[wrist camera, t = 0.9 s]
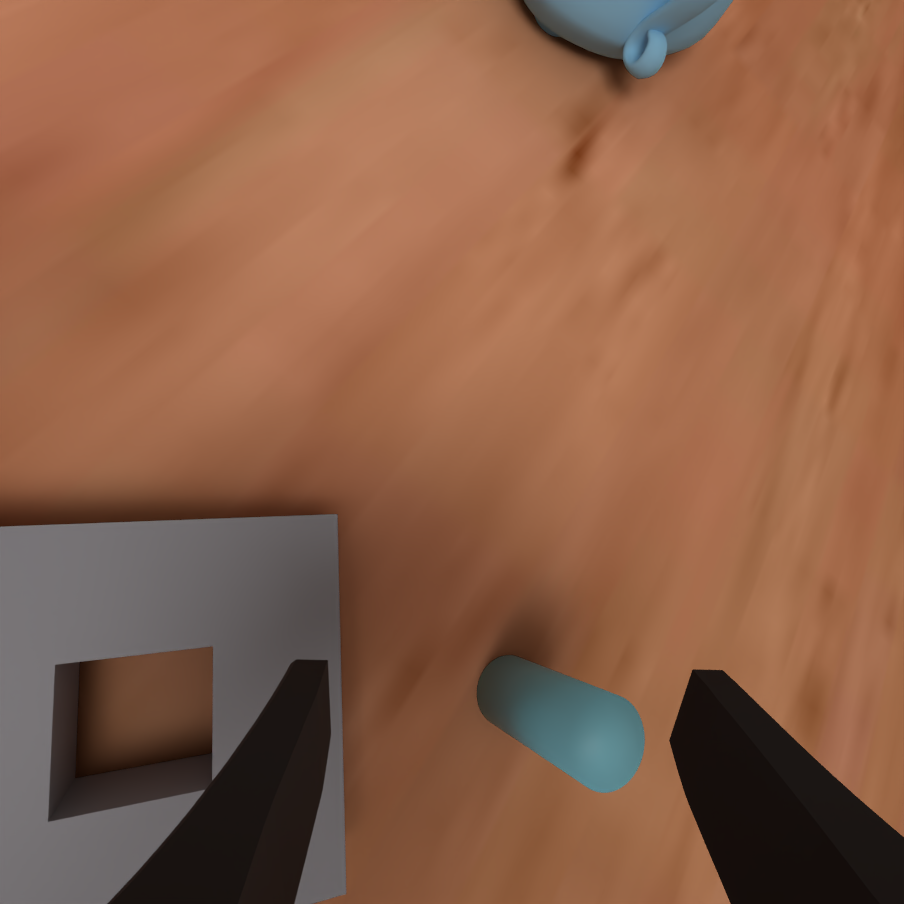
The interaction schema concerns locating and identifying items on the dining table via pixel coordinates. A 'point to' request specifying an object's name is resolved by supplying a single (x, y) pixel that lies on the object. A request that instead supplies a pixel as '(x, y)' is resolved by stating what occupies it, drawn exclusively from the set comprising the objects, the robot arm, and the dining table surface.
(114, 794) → the socket
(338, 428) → the dining table surface
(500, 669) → the peg
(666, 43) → the decorative pot
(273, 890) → the robot arm
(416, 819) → the dining table surface
